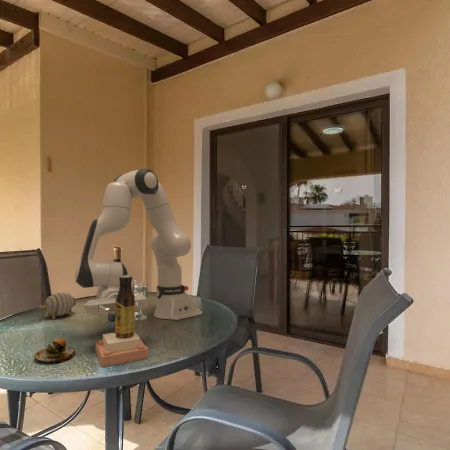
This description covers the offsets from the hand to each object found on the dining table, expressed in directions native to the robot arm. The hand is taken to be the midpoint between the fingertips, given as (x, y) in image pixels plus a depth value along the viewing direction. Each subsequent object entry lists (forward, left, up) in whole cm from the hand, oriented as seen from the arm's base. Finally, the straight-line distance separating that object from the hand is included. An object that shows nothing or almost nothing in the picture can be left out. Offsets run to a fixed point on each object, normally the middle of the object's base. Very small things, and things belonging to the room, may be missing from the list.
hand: (121, 309), depth 109 cm
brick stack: (0, +1, -15) cm, 15 cm away
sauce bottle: (-1, +1, -9) cm, 9 cm away
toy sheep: (+16, -57, -15) cm, 61 cm away
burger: (+19, -7, -15) cm, 26 cm away
